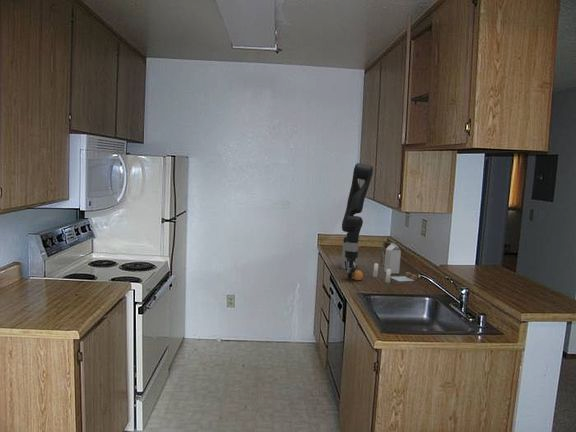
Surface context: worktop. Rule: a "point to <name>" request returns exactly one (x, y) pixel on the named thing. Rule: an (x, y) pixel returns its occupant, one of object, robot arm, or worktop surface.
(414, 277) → the backstop strip
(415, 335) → the worktop surface
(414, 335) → the worktop surface
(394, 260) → the milk carton
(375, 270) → the left post
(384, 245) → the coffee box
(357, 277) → the ball
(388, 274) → the right post
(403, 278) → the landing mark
